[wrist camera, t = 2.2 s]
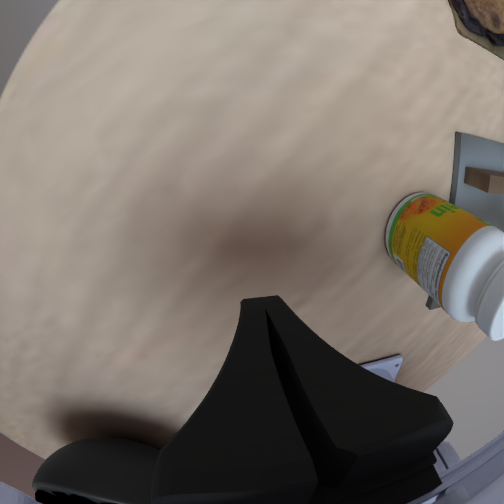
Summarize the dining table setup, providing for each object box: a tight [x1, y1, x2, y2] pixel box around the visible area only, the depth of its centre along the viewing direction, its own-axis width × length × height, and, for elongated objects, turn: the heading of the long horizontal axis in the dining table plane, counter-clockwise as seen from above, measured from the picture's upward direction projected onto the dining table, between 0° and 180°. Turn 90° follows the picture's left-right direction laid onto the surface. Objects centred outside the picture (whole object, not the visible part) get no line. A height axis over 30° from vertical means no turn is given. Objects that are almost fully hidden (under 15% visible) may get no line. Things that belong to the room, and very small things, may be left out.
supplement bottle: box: [386, 192, 504, 341], centre depth 13 cm, size 5×5×10 cm
